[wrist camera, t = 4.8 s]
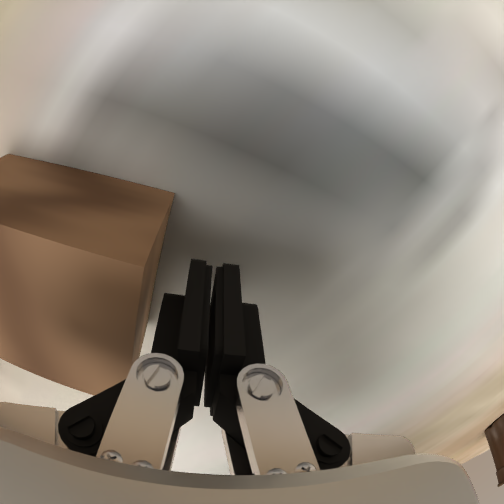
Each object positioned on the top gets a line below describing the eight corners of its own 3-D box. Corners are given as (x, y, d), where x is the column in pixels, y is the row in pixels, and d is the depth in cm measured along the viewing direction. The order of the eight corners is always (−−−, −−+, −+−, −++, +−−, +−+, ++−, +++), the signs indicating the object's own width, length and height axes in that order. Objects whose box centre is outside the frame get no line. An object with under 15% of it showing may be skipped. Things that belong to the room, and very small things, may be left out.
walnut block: (175, 191, 11) (143, 267, 7) (148, 320, 14) (129, 405, 10) (10, 152, 9) (-68, 199, 5) (16, 278, 12) (-28, 343, 8)
